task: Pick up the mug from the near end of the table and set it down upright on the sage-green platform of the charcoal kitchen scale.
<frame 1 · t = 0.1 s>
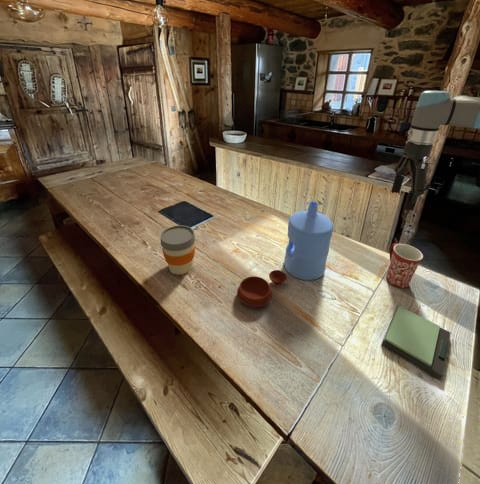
hand: (401, 200, 95), 28 cm above the table, tool pointing down, fingers open, 13 cm apart
water jug: (303, 267, 104), on the table
pottery: (263, 291, 93), on the table
reusable coffee cup: (181, 266, 103), on the table
scale: (415, 341, 77), on the table
mug: (394, 277, 100), on the table
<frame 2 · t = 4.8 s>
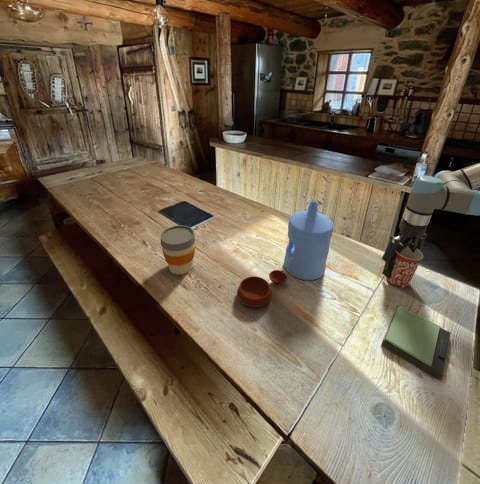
hand: (395, 273, 99), 2 cm above the table, tool pointing down, fingers closed on mug, 8 cm apart
mug: (395, 277, 100), on the table, touching gripper
everything else where it was.
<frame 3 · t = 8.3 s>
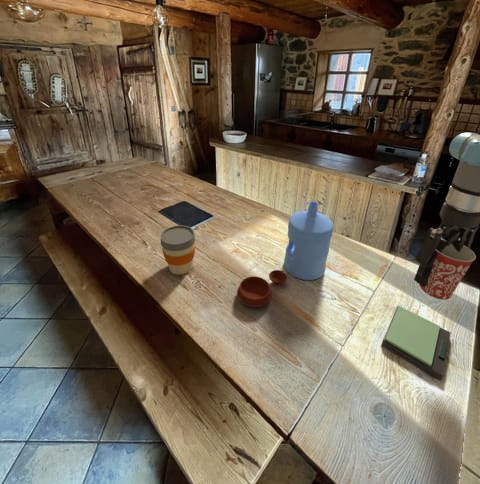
hand: (431, 279, 72), 19 cm above the table, tool pointing down, fingers closed on mug, 8 cm apart
mug: (430, 285, 73), point 17 cm above the table, touching gripper
everything else where it was.
when the fingers open (5 cm above the table, at t = 12.2 s): mug stays where it is, resting on scale.
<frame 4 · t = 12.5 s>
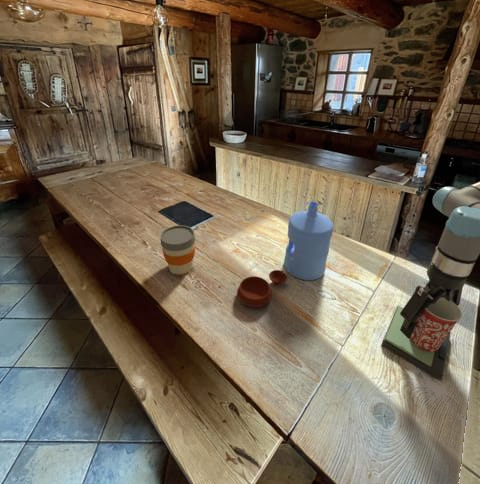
hand: (421, 328, 74), 5 cm above the table, tool pointing down, fingers open, 11 cm apart
mug: (419, 334, 76), point 3 cm above the table, touching scale
everything else where it was.
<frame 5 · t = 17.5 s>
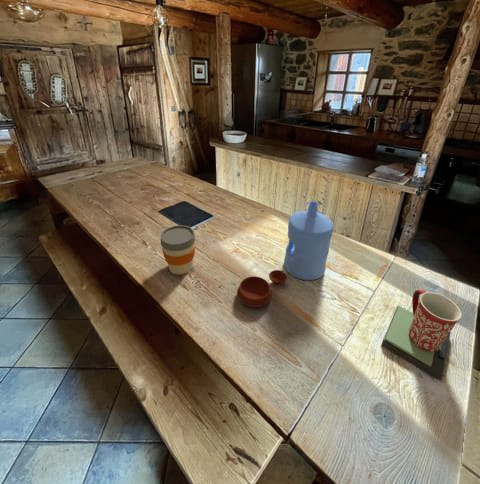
nothing on the table moved.
at the end: mug inside the target area on the scale (0.6 cm from its centre), point 2.6 cm above the scale's base; mug tilted 0°; the gripper is holding nothing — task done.
